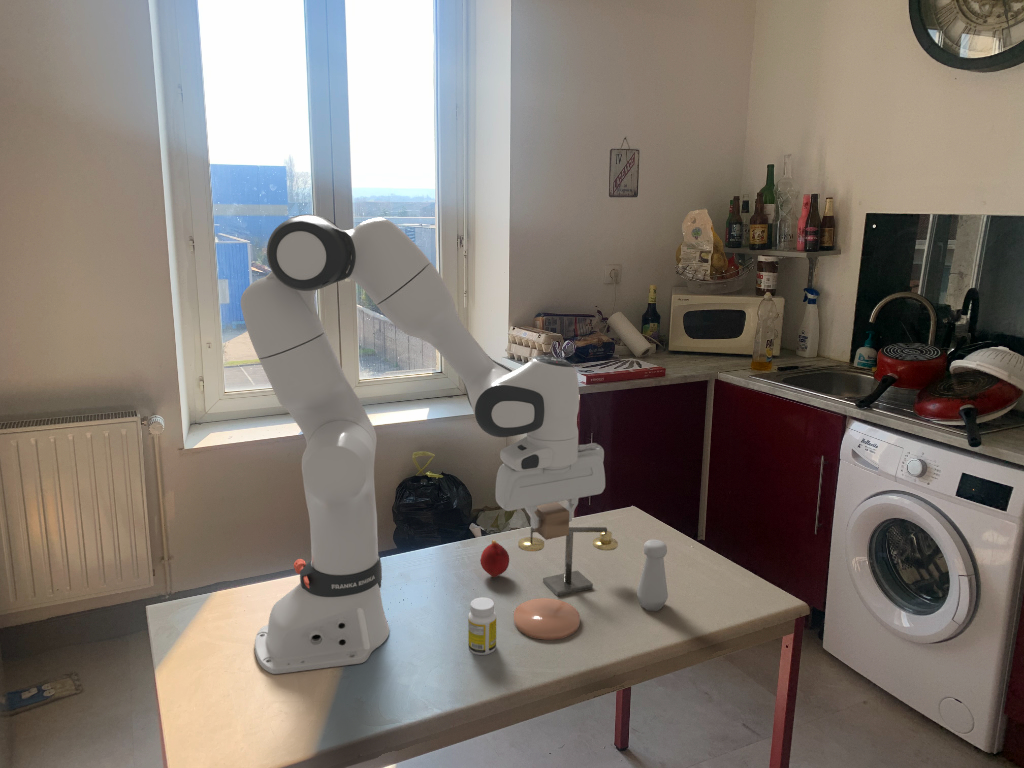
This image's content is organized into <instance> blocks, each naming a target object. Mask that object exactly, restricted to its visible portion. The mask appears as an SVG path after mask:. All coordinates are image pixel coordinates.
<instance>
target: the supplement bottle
mask: <svg viewBox="0 0 1024 768" xmlns="http://www.w3.org/2000/svg"><path fill="white" fill-rule="evenodd" d="M469 606H470V608H469V610H470V612H469V613H468V618H467V620H468V621H467V627H468V629H467V630H468V631H467V632H468V633H467V635H468V636H467V638H468V649H469V650H470V651H469V652H471V653H472V654H474V655H478V656H479V655H480V656H485V655H489V654H491V653H493V652H494V651H495V650H496V649H497V613H496V612H495V603H494V600H493V599H491V598H489V597H482V596H481V597H476V598H473V600H471V602H470V605H469Z"/></svg>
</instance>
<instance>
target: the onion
mask: <svg viewBox="0 0 1024 768" xmlns="http://www.w3.org/2000/svg"><path fill="white" fill-rule="evenodd" d="M479 563H480V565H481V567H482V569H483V570H484V572H486V573H487V574H488V575H489V576H490V577H492V578H497V577H498V576H499V577H500V576H501V575H502V574H504V573H505V572H506V571H507V570H508V567H509V566H510V565H509V564H510V555H509V553H508V551H507V550H506V549H505V547H504V546H503V545H501V544H499V543H498V542H497V541H496V540H495V539H493V540H491V544H489V545H488V546H486V547H485V548H484V549H483V551H482V553H481V556H480V562H479Z"/></svg>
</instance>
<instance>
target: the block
mask: <svg viewBox="0 0 1024 768" xmlns="http://www.w3.org/2000/svg"><path fill="white" fill-rule="evenodd" d="M534 513H535V514H536V515H538V516H540V517H541V518H542V527H541V528H536V529H534V530H535V531H536V532H535V533H538V535H540V536H541V537H542V538H543V539H544V540H545V541H547V540H551V539H556V538H561V537H566V536H567V535H569V527H570V522H569V511H568V510H567V509H566V508H565V507H564V506H563V505H562V504H561V503H559V502H554V503H549V504H543V505H538V506H537V511H534Z"/></svg>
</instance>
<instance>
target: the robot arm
mask: <svg viewBox="0 0 1024 768" xmlns="http://www.w3.org/2000/svg"><path fill="white" fill-rule="evenodd" d="M266 259H267V263H268V266H269V268H270V273H268V274H267V275H264V276H262V277H261V278H259V279H256V280H255V281H253V282H252V283H250V284H249V285H248V286H247V287H246V289H245V290H244V291H243V293H242V294H241V297H240V308H241V309H240V310H241V312H242V316H243V321H244V323H245V324H244V325H245V327H246V330H247V333H248V336H249V340H250V342H251V344H252V347H253V349H254V351H255V353H256V356H257V358H258V360H259V362H260V364H261V367H262V368H263V371H264V373H265V375H266V377H267V379H268V381H269V383H270V386H271V388H272V391H273V393H274V394H275V397H276V398H277V400H278V402H279V404H280V406H282V407H283V408H284V409H286V411H287V412H288V413H289V415H290V416H291V417H292V419H293V420H294V422H295V423H296V424H297V426H298V427H299V428H300V431H301V432H302V434H303V436H304V438H305V441H306V447H305V449H304V452H303V453H302V457H301V473H302V475H301V476H302V481H303V488H304V489H303V490H304V496H305V502H306V507H307V510H308V511H307V512H308V519H309V528H310V530H309V532H310V550H311V551H310V552H311V559H310V560H309V562H307V563H306V561H305V560H304V559H302V558H297V559H296V560H295V561H294V563H293V567H294V571H295V573H296V574H298V575H299V581H300V583H299V584H297V585H296V586H295V587H294V588H293V589H291V590H290V591H289V592H287V593H286V594H285V595H283V597H281V598H280V599H279V600H277V601H276V602H275V603H273V606H272V608H271V610H270V613H269V618H268V624H266V625H263V626H262V627H261V628H260V629H259V630H258V632H257V633H256V636H255V639H254V653H255V657H256V660H257V662H258V664H259V666H261V668H262V669H263V670H265V671H266V672H268V673H270V674H272V675H279V674H286V673H293V672H294V673H295V672H301V671H310V670H312V671H313V670H319V669H326V668H334V667H341V666H349V665H359V664H362V663H364V662H366V661H367V660H368V659H369V657H370V656H371V654H372V652H373V651H374V650H376V649H377V648H379V647H380V646H381V645H382V644H383V643H384V642H386V640H387V638H388V637H389V634H390V625H389V623H388V621H387V617H386V615H385V610H384V605H383V601H382V599H383V598H382V594H381V588H382V580H383V576H382V573H383V569H382V567H383V566H382V562H381V557H380V556H379V547H378V544H379V543H378V542H379V541H378V540H379V539H378V513H377V503H376V489H375V488H376V487H375V459H376V449H377V443H378V442H377V441H378V439H377V433H376V430H375V428H374V425H373V423H372V422H371V420H370V417H369V416H368V414H367V412H366V410H365V408H364V406H363V405H362V403H361V401H360V399H359V397H358V396H357V394H356V391H354V388H353V387H352V385H351V384H350V382H349V381H348V378H347V377H346V375H345V373H344V371H343V368H342V366H341V364H340V362H339V359H338V357H337V355H336V352H335V350H334V348H333V346H332V343H331V341H330V339H329V337H328V335H327V332H326V330H325V328H324V326H323V325H324V324H323V323H322V321H321V319H320V317H319V315H318V311H317V308H316V305H315V295H316V292H317V290H321V289H323V288H326V287H328V286H331V285H333V284H336V283H338V282H342V281H344V280H347V279H349V280H351V281H353V282H354V283H356V284H357V285H358V286H359V287H360V288H361V289H362V290H363V292H365V293H366V295H367V296H368V297H369V298H370V300H371V301H372V302H373V303H374V304H375V306H376V307H377V308H378V309H379V310H380V312H381V313H382V314H383V315H384V316H385V317H386V318H387V319H388V320H389V321H390V322H391V323H392V324H393V325H394V326H395V327H397V329H399V330H400V331H401V332H403V334H406V335H407V336H410V337H414V338H418V339H420V340H423V341H425V342H427V343H428V344H430V345H431V346H432V347H433V348H434V349H435V350H437V352H438V353H439V354H440V355H441V356H442V357H443V359H444V360H445V361H446V363H448V365H449V366H450V368H452V369H453V371H454V372H455V373H456V374H457V375H458V377H460V379H461V381H462V383H463V385H464V388H465V389H464V390H465V393H466V396H467V401H468V402H469V405H470V407H471V409H472V412H473V415H474V417H475V420H476V423H477V425H478V426H479V427H480V429H482V431H484V432H485V433H486V434H488V435H490V436H492V437H496V438H509V437H515V436H520V435H525V434H526V436H524V437H523V438H522V439H519V440H518V441H515V442H514V443H512V444H510V445H508V446H506V447H503V448H502V449H500V452H499V457H500V460H501V461H502V462H503V463H502V464H500V465H499V468H498V470H497V473H496V480H495V501H496V503H497V505H498V506H499V507H501V508H502V509H503V510H504V511H507V512H511V511H516V510H521V509H524V510H525V511H526V513H527V514H528V516H529V517H530V519H529V520H530V528H531V527H533V528H534V529H536V528H541V527H542V518H541V517H540V516H538V515H536V514H535V513H534V511H537V506H539V505H544V504H549V503H555V502H557V503H559V502H563V501H564V502H565V501H567V502H566V504H565V507H564V508H566V509H567V510H568V511H569V523H570V522H572V521H573V513H574V511H575V510H576V507H577V506H578V504H579V499H580V498H586V497H589V496H590V497H591V496H596V495H600V494H602V493H603V492H604V490H605V488H606V473H605V467H604V459H605V450H604V448H603V447H602V446H601V445H600V444H598V443H597V442H592V443H587V444H579V429H578V424H577V417H578V413H579V410H580V390H579V389H580V388H579V378H578V377H579V376H578V372H577V369H576V368H575V366H574V365H573V364H572V363H570V362H569V361H568V360H567V359H563V358H561V357H557V356H556V357H555V356H551V355H544V354H543V355H536V356H533V357H532V358H530V360H528V362H526V363H525V364H523V365H522V366H520V367H519V368H517V369H514V370H513V369H511V368H509V367H508V366H506V365H504V364H502V363H499V362H498V361H496V360H494V359H492V358H491V356H489V355H488V354H487V353H486V351H485V350H484V349H483V347H482V346H481V345H480V344H479V343H478V342H477V341H476V339H475V338H474V337H473V335H472V334H471V333H470V331H469V330H468V329H467V328H466V326H465V325H464V324H463V322H462V320H461V319H460V316H459V314H458V312H457V309H456V305H455V300H454V297H453V296H452V294H451V291H450V290H449V288H448V286H447V284H446V282H445V281H444V279H443V277H442V276H441V274H440V273H439V271H438V269H437V268H436V267H435V266H434V264H433V263H432V262H431V260H430V259H429V258H428V257H427V256H426V255H425V253H424V252H423V250H421V248H420V247H419V245H417V244H416V243H415V242H414V241H413V240H412V239H411V238H410V237H409V236H408V235H407V234H406V233H405V232H404V231H403V230H402V229H400V228H399V227H398V226H397V225H396V224H395V223H393V222H392V221H391V220H389V219H387V218H383V217H374V218H369V219H366V220H364V221H362V222H360V223H359V224H358V225H356V226H355V227H353V228H351V229H348V230H344V229H341V228H339V227H338V225H336V224H335V223H334V222H333V221H331V220H329V219H328V218H325V217H323V216H319V215H316V214H311V213H310V214H309V213H308V214H307V213H306V214H305V213H304V214H299V215H295V216H293V217H291V218H289V219H287V220H284V221H283V222H281V223H280V224H279V225H278V226H276V227H275V229H274V230H273V231H272V233H271V235H270V236H269V238H268V242H267V245H266Z"/></svg>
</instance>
